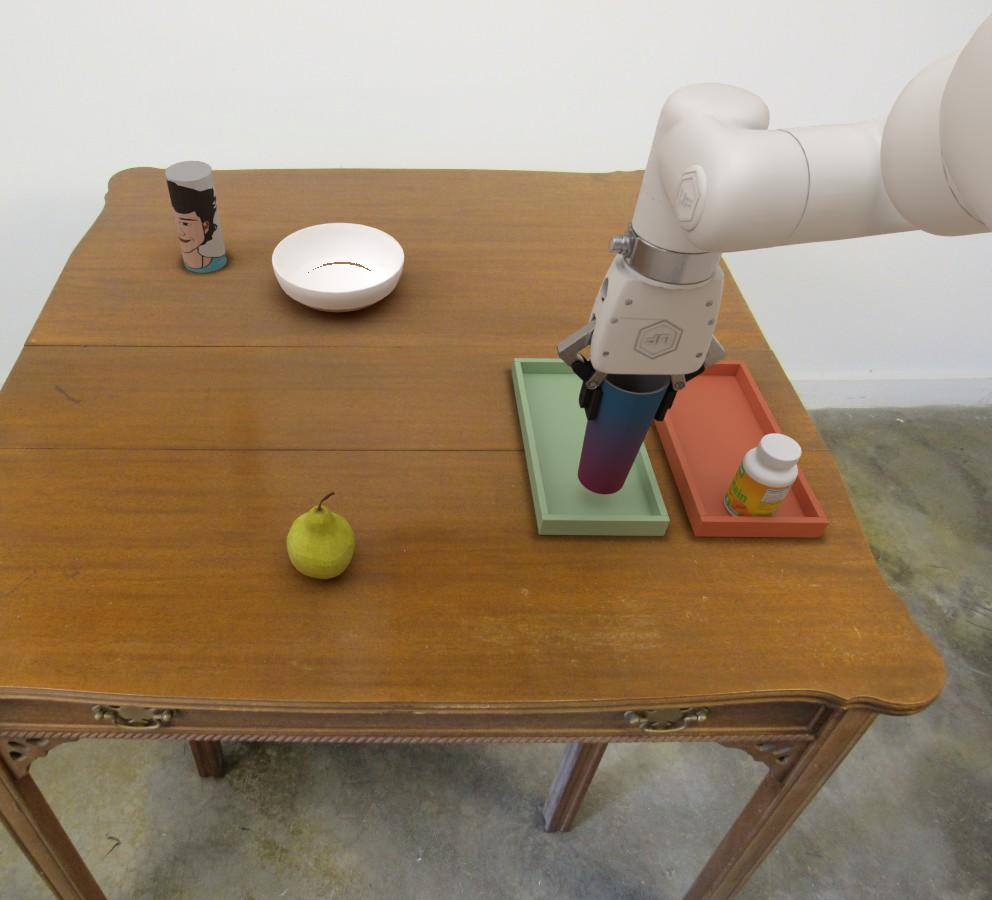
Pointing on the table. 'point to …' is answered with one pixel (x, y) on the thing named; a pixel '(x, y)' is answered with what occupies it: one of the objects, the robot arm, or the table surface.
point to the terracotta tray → (728, 455)
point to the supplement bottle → (764, 477)
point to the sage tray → (576, 461)
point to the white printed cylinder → (196, 215)
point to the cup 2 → (619, 429)
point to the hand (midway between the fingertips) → (622, 410)
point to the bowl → (338, 266)
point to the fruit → (320, 543)
